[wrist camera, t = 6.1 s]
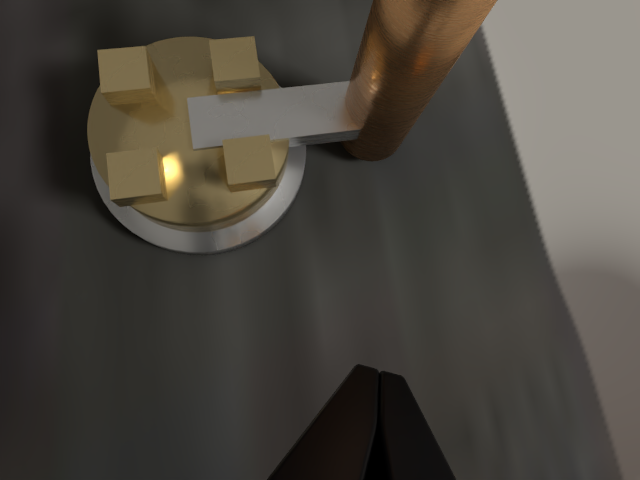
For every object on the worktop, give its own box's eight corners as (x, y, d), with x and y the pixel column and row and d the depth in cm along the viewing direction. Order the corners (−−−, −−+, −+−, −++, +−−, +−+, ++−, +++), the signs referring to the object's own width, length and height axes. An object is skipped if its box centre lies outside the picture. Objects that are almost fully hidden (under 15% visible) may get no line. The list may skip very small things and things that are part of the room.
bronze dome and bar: (118, 246, 19) (-132, 123, 8) (103, 79, 21) (-127, -248, 9) (419, 204, 21) (599, 48, 9) (386, 51, 22) (507, -255, 11)
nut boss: (204, 299, 20) (200, 297, 19) (54, 158, 21) (42, 149, 20) (345, 153, 22) (348, 145, 21) (203, 28, 22) (200, 15, 21)
